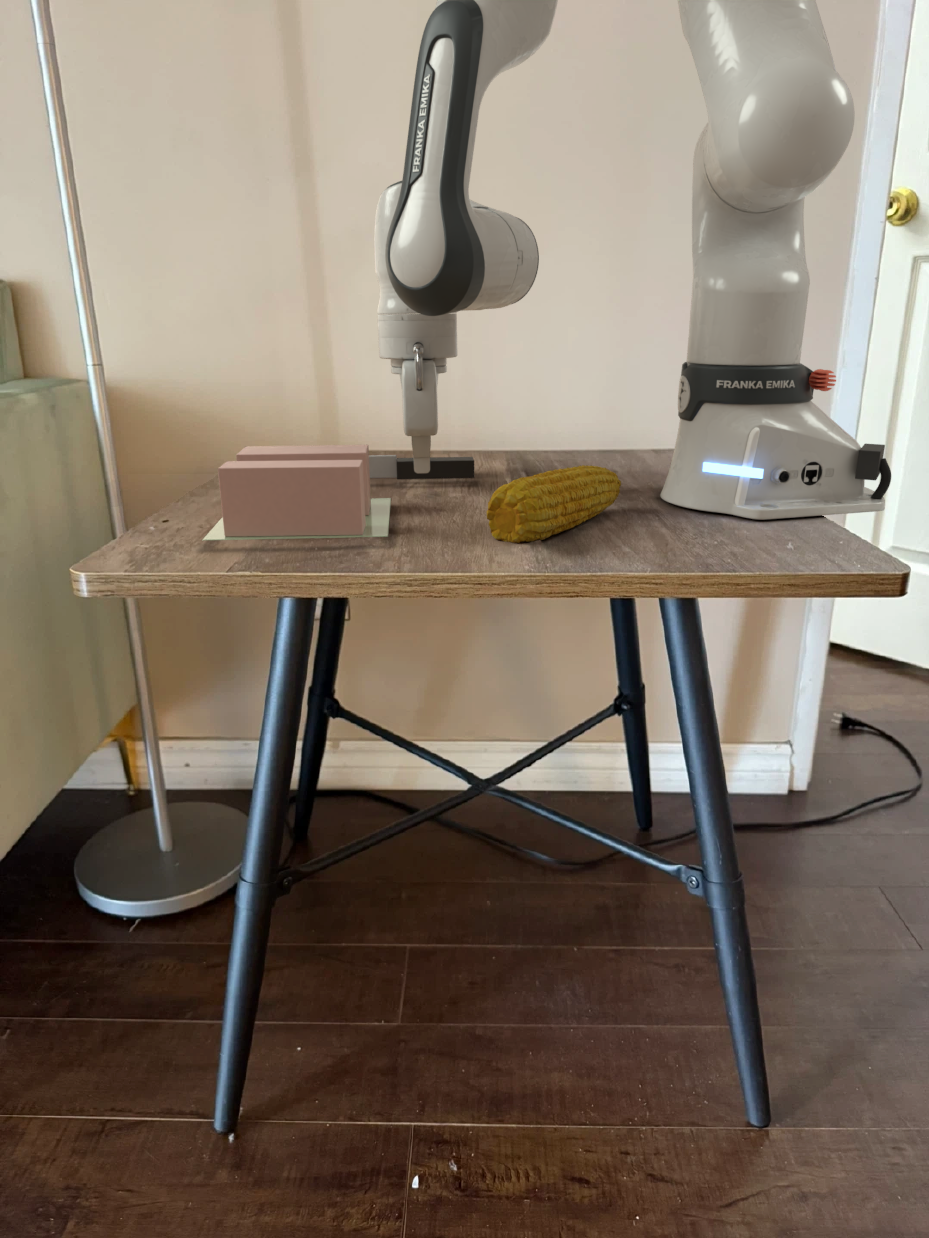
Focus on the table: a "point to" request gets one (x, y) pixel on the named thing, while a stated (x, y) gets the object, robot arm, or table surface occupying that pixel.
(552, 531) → the food
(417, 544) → the table surface
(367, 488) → the pink rectangular block
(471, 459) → the knife
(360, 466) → the dusty pink brick
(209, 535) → the plate
